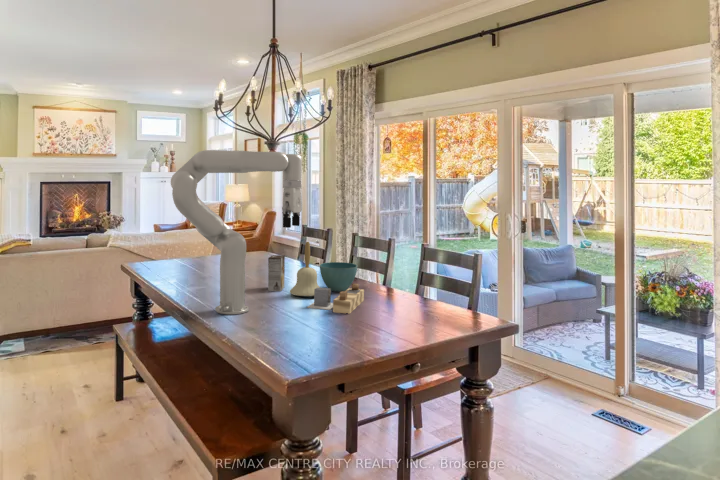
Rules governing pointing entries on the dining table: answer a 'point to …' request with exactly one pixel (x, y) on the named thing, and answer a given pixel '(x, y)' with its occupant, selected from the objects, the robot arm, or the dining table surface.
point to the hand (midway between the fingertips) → (291, 226)
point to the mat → (321, 307)
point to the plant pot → (338, 275)
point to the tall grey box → (322, 297)
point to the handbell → (305, 277)
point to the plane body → (348, 299)
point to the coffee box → (276, 272)
